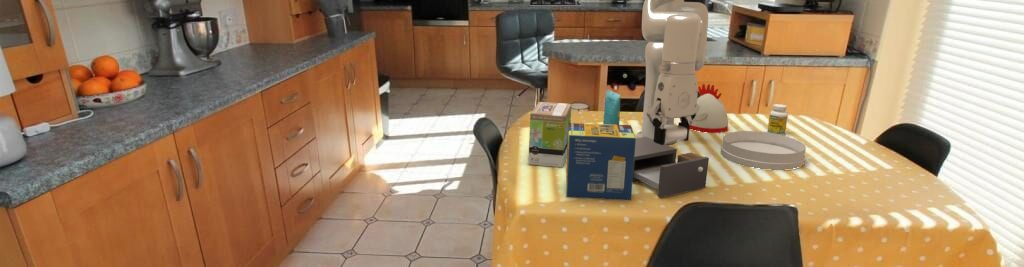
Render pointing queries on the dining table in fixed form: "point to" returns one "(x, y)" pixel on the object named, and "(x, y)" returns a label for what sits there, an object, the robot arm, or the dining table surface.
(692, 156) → the walnut block
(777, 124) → the supplement bottle
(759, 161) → the dish
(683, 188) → the drawer
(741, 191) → the dining table surface
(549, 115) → the tea box
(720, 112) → the hen dome cover
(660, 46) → the robot arm
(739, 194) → the dining table surface
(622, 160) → the protein box
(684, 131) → the disc
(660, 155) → the housing
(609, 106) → the tube
